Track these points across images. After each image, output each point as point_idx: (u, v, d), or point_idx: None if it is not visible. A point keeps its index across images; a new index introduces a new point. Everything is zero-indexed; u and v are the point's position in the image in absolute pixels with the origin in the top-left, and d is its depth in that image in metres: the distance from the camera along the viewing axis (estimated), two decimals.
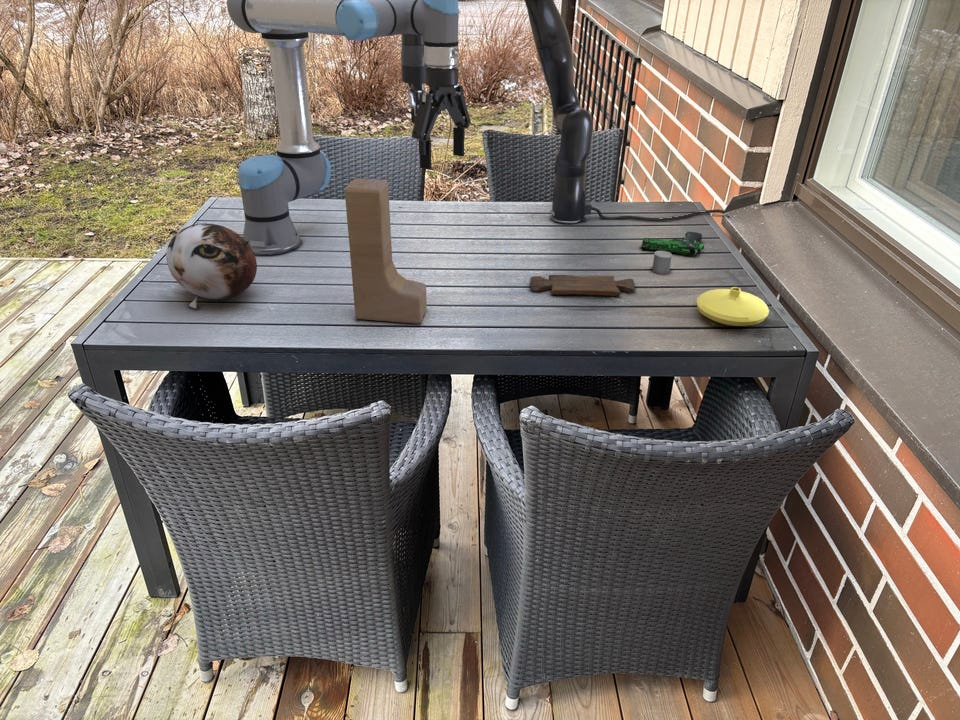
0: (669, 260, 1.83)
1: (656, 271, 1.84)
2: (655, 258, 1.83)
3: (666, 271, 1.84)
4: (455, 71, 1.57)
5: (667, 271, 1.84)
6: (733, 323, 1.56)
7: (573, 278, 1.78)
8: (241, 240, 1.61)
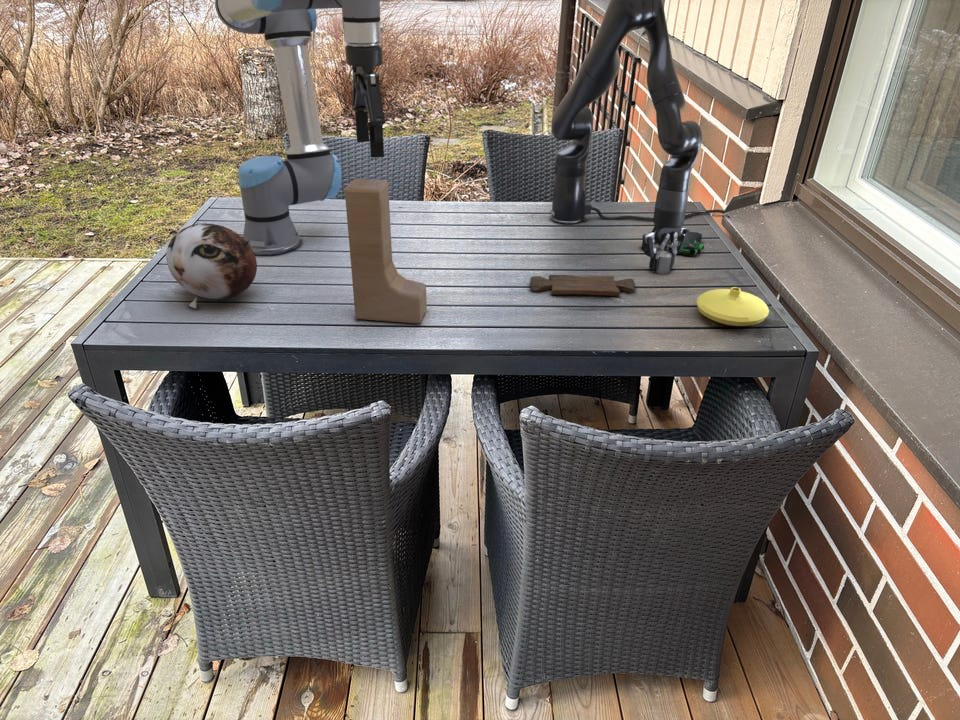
0: (669, 260, 1.83)
1: None
2: None
3: (666, 271, 1.84)
4: None
5: (667, 271, 1.84)
6: (733, 323, 1.56)
7: (573, 278, 1.78)
8: (241, 240, 1.61)
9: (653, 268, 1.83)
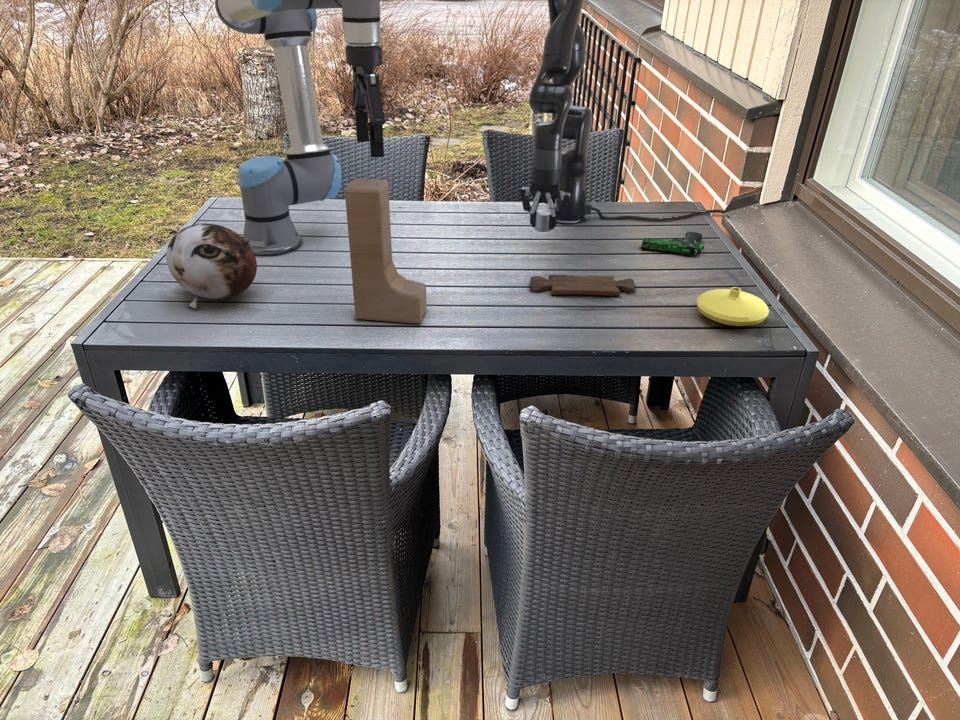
0: (544, 219, 1.91)
1: (535, 227, 1.94)
2: None
3: (540, 229, 1.92)
4: None
5: (542, 230, 1.92)
6: (733, 323, 1.56)
7: (573, 278, 1.78)
8: (241, 240, 1.61)
9: (531, 223, 1.94)
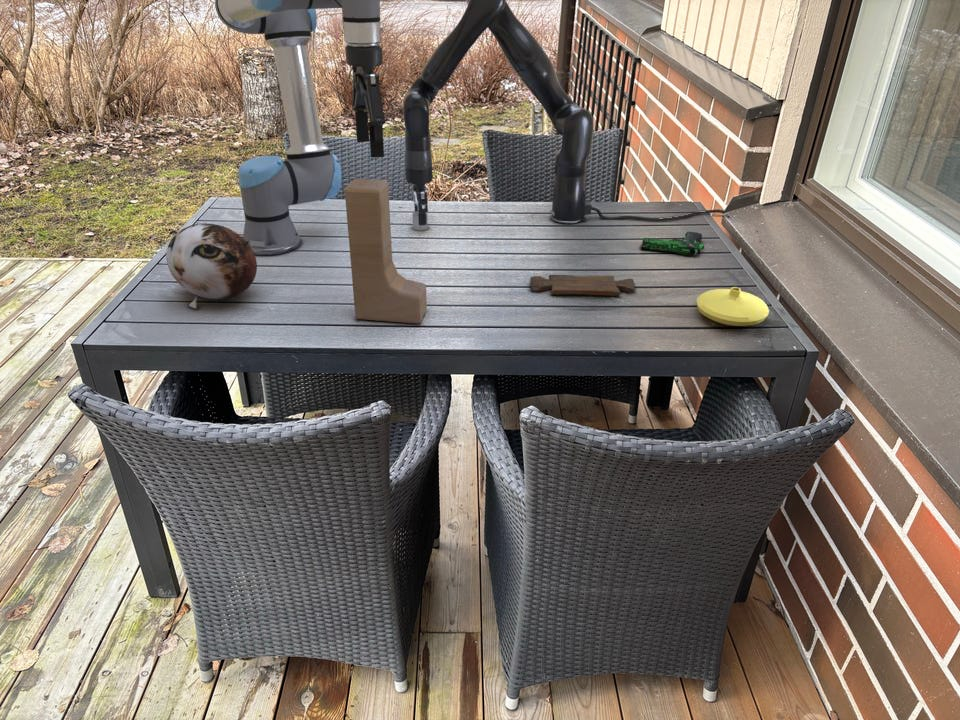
0: (413, 217, 2.08)
1: None
2: None
3: None
4: None
5: (413, 227, 2.09)
6: (733, 323, 1.56)
7: (573, 278, 1.78)
8: (241, 240, 1.61)
9: None
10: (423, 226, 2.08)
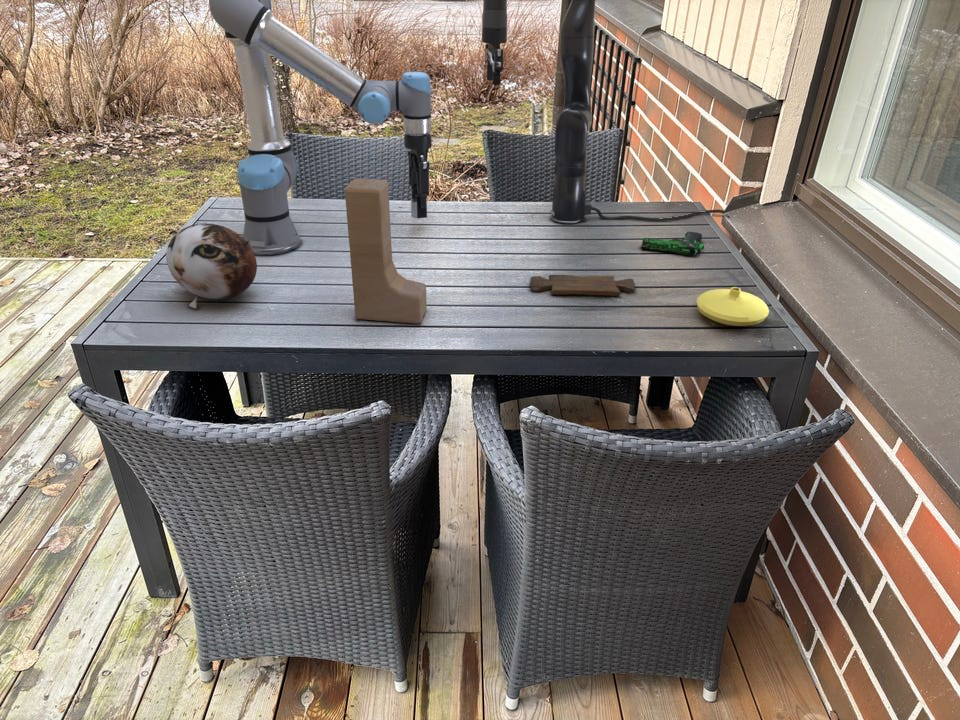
0: (411, 205, 2.06)
1: None
2: None
3: (411, 213, 2.08)
4: (430, 134, 1.98)
5: (411, 214, 2.07)
6: (733, 323, 1.56)
7: (573, 278, 1.78)
8: (241, 240, 1.61)
9: None
10: None
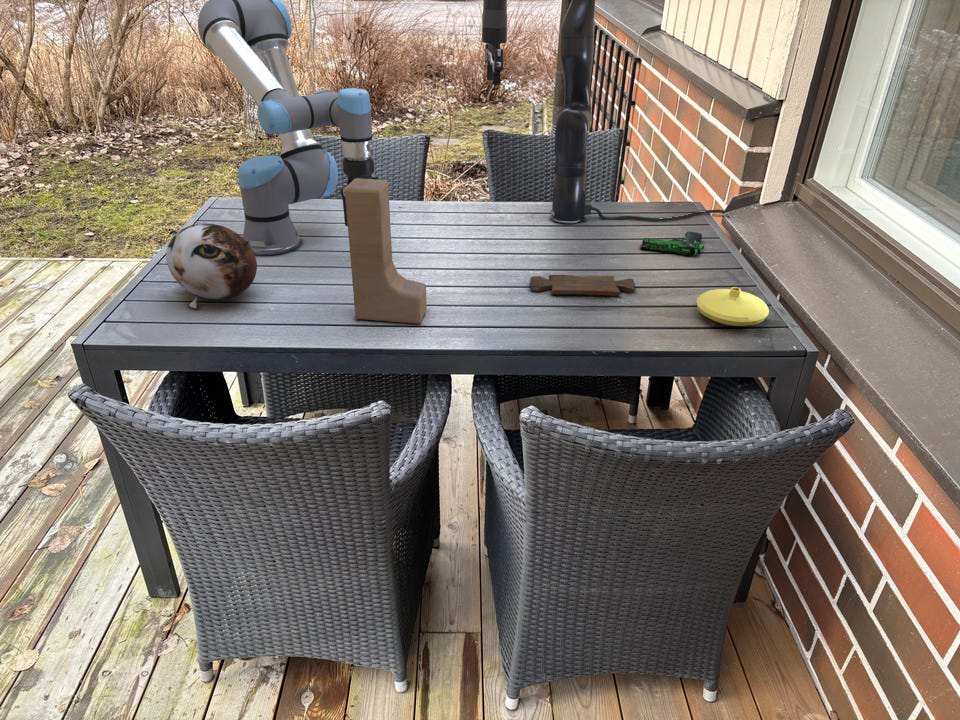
0: None
1: None
2: None
3: None
4: (370, 162, 1.73)
5: None
6: (733, 323, 1.56)
7: (573, 278, 1.78)
8: (241, 240, 1.61)
9: None
10: None
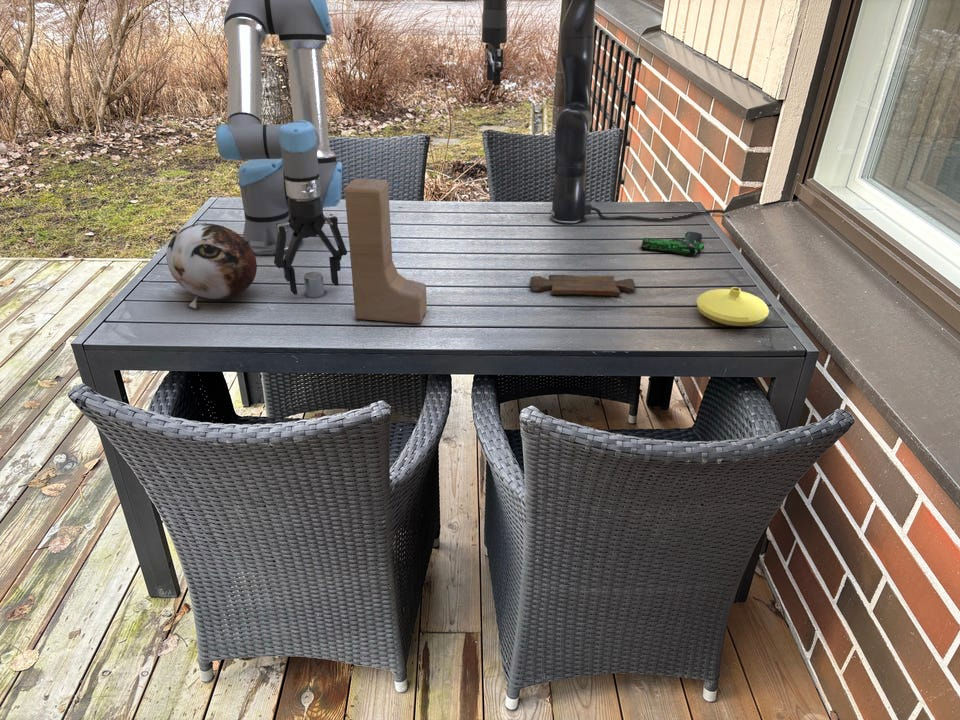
0: None
1: None
2: (322, 278, 1.70)
3: None
4: (310, 204, 1.57)
5: None
6: (733, 323, 1.56)
7: (573, 278, 1.78)
8: (241, 240, 1.61)
9: None
10: (306, 291, 1.69)
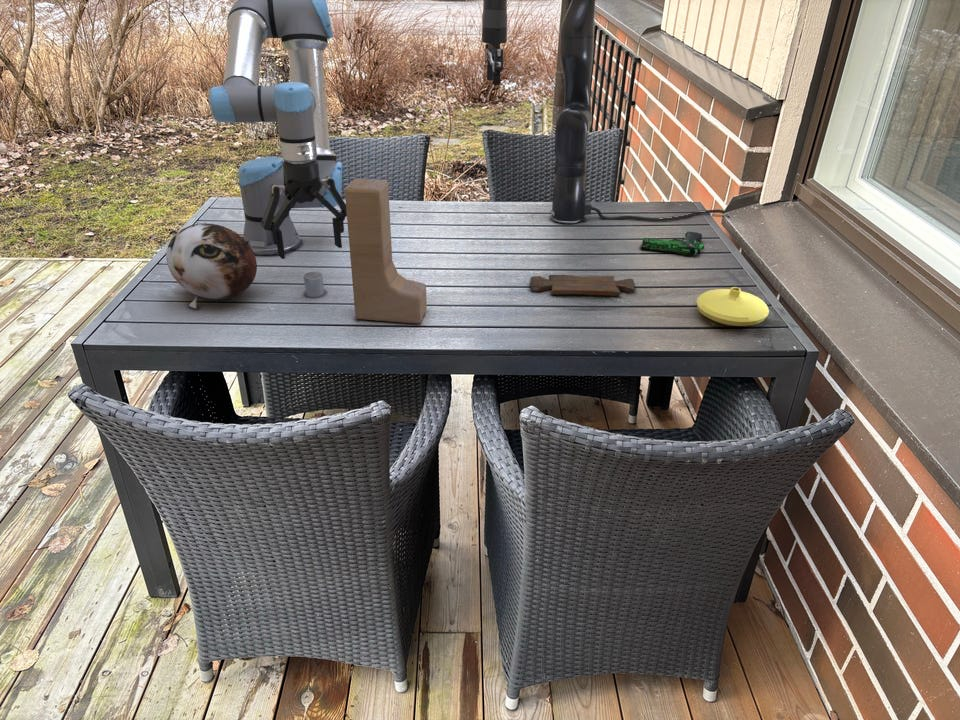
0: None
1: None
2: (322, 278, 1.70)
3: None
4: (306, 167, 1.52)
5: None
6: (733, 323, 1.56)
7: (573, 278, 1.78)
8: (241, 240, 1.61)
9: None
10: (306, 291, 1.69)
